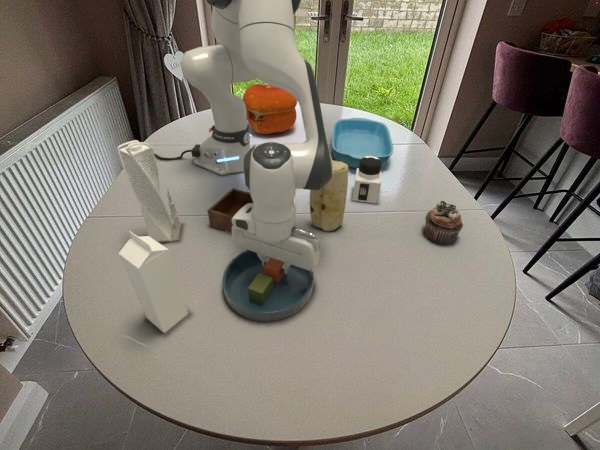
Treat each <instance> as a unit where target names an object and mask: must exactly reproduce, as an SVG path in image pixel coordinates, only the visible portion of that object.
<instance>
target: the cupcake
mask: <svg viewBox="0 0 600 450" xmlns="http://www.w3.org/2000/svg"><path fill="white" fill-rule="evenodd" d="M462 219H463V218H462V215H461V213H460V211H459V209H458V208H457V206H456V205H455V204H451V203H450V204H449V203H447V202H446V201H445V200H440V201H437V202H436V204H435V206H434V207H432V209H430V210H429V211H428V212H427V213H426V215H425V229H424V234H425V236H426V238H427V239H429V240H430V241H432V242H433V243H437V244H440V245H448V244H451V243H452V242H454V241H455V240H456V238H457V236H458V235H459V234H460V233H461V231H462V229H463V228H464V222H463V220H462Z"/></svg>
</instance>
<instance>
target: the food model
mask: <svg viewBox="0 0 600 450" xmlns="http://www.w3.org/2000/svg"><path fill="white" fill-rule="evenodd" d="M332 164H333V172H332V178H331V179H330V181H329V182H328V183H327V184H326V185H325V186H324V187H322V188H321V189H319V190H309V213H310V219H311V222H312V225H313V227H315V228H318V229H322V230H323V231H324V232H333V231H335V230H336V229H338V228H339V227H340V226H341V225H342V224H343V222H344V216H345V215H344V214H345V210H346V205H347V204H346V203H347V197H348V196H347V195H348V187H349V167H348V165H347V164H345V163H343V162H338V161H337V160H333V159H332Z"/></svg>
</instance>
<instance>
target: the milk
mask: <svg viewBox="0 0 600 450" xmlns="http://www.w3.org/2000/svg"><path fill="white" fill-rule="evenodd" d="M128 233H129V236H130V238H129V239H128V240H127V242H126V243H125V245H124V246H123V247H122V248H121V250H120V251H119V252H118V255H119V257H120V260H121V262H122V265H123V267H124V269H125V272H126V274H127V276H128V279H129V281H130V283H131V286H132V287H133V289H134V292H135V294H136V297H137V299H138V301H139V304H140V306H141V308H142V310H143V312H144V315H145V317H146V319H147V320H148V321H149V322H151V323H152V325H154V326H155V327H157V328H158V329H159V330H160V331H161V332H162V333H163V334H165V333H166V332H167V331H169V330H170V329H171V328H172V327H174V326H175V325H176V324H178V323H180V321H181V320H182V319H184V318H185V317H186V316H187V315H188V314H189V311H188V308H187V305H186V301H185V298H184V295H183V292H182V288H181V285H180V282H179V278H178V274H177V272H176V268H175V266H174V262H173V259H172V256H171V252H170V249H168V247H166V246H164V245H163V244H162V243H158V242H157V241H155V240H154V239H152V238H151V237H149V236H148V235H144V236H143V235H142V236H138V235H136V234H135V233H133V232H132V231H131V230H129V231H128Z"/></svg>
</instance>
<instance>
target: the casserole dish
mask: <svg viewBox="0 0 600 450" xmlns="http://www.w3.org/2000/svg"><path fill="white" fill-rule="evenodd" d="M332 127H333V128H332V137H331V147H332V151H333V155H334V158H335V161H338V162H343V163H345V164H347V165H348V168H350V169H351V168H352V169H357V168H359V164H360V159H362V158H363V157H366V156H373V157H376V158H379V159H380V160H381V162H382V166H381V168H382V167H384V166H385V165H386V164H387V163H388V161H389V159H390V157H391V156H392V155H393V153H394V146H393V140H392V137H391V133H390V129H389V126H387V125H386V124H385V123H384V122H381V121H379V120H373V119H369V118H366V117H352V118H342V119H338V120H337V121H335V122H334V124H333V126H332Z"/></svg>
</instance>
